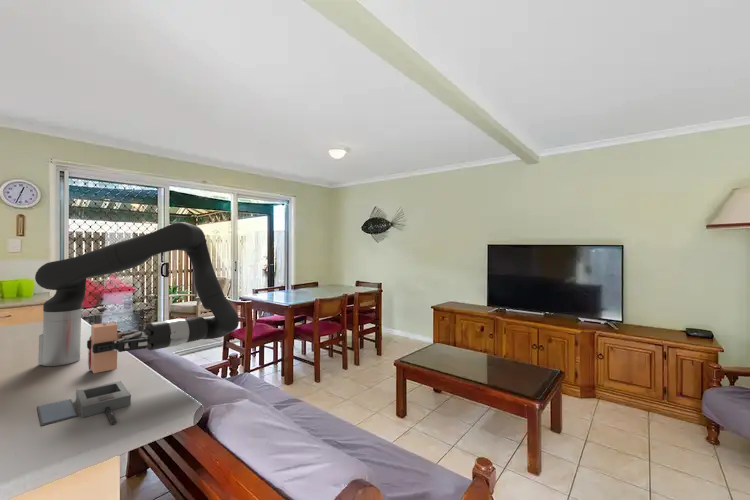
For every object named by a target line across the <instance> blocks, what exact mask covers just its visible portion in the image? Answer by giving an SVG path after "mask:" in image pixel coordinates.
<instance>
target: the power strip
mask: <svg viewBox="0 0 750 500" xmlns="http://www.w3.org/2000/svg"><path fill="white" fill-rule="evenodd" d="M75 393H76V394H75V402H76V405H77V407H78V410H79V413H80V415H81V418H87V417H90V416H91V417H92V416H94V415H98V414H102V413H106V416H107V418H108V420H109V421H110V425H115V424H117V418H116V417H115V414H114V413H113V410H114V411H115V410H118V409H120V408H125V407H129V406H131V404H132V400H131V399H132V394H131V393H130V392H129V390H128V389H127V387H126V385H124V383H123V381H121V380H119V381H114V382H110V383H105V384H100V385H96V386H95V385H94V386H92V387H91V386H90V387H87V388H82V389H78V390H76V392H75Z"/></svg>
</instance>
